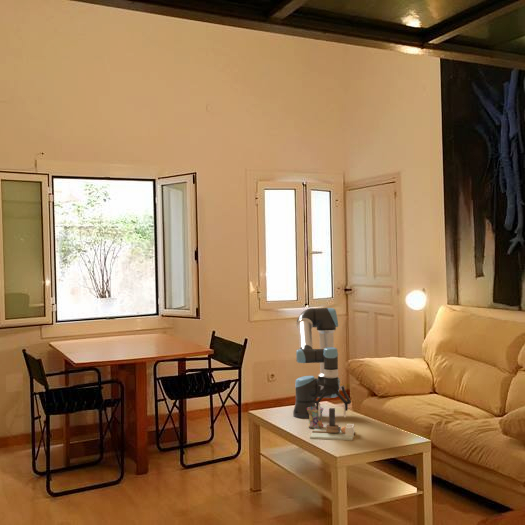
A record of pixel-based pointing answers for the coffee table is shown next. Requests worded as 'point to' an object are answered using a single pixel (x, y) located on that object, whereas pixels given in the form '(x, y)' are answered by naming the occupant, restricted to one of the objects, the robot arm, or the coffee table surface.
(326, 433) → the pitch
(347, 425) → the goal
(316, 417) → the mug
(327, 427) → the kicker
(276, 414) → the coffee table surface
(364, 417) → the coffee table surface
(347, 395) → the robot arm
